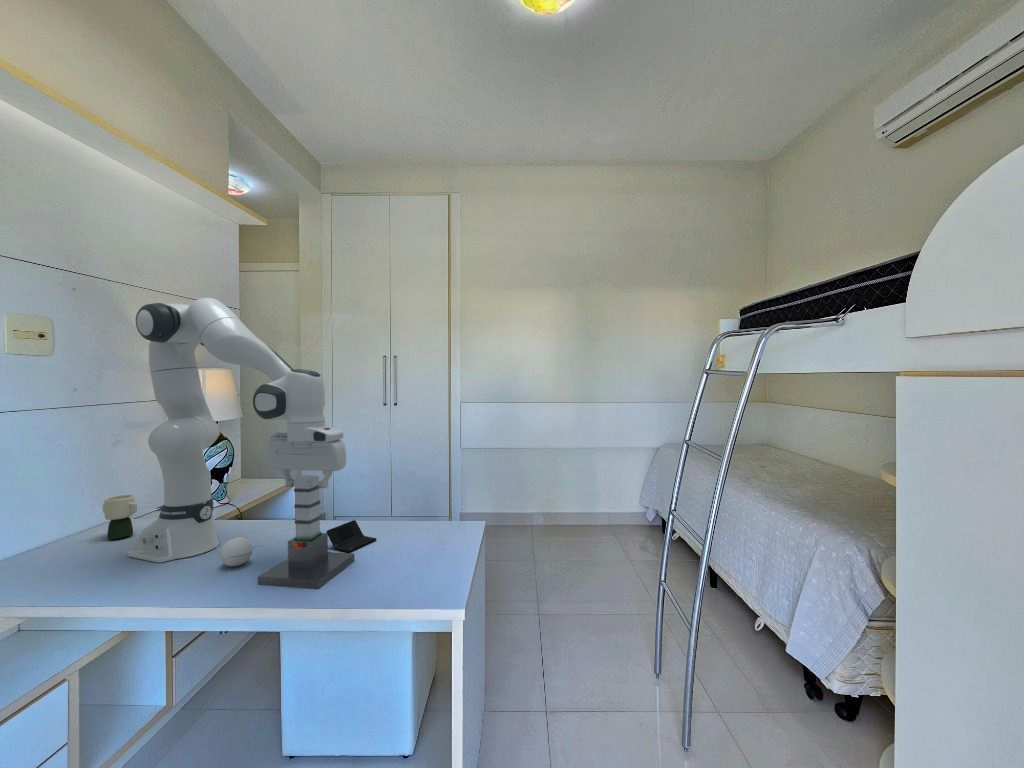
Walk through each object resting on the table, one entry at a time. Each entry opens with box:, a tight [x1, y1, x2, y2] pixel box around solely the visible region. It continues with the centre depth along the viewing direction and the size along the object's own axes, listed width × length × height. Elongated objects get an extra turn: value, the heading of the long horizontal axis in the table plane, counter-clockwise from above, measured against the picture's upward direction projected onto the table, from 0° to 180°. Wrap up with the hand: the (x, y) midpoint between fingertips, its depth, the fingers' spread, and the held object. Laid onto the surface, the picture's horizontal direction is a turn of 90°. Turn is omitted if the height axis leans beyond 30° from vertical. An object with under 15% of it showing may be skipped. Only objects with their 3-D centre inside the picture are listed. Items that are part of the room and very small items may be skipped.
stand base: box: [257, 532, 355, 590], centre depth 111 cm, size 16×16×9 cm
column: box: [293, 475, 322, 541], centre depth 111 cm, size 4×4×16 cm
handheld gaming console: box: [325, 519, 377, 553], centre depth 129 cm, size 12×7×10 cm
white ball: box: [219, 536, 265, 567], centre depth 116 cm, size 10×7×7 cm
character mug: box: [102, 494, 138, 540], centre depth 139 cm, size 11×7×13 cm, turn 88°
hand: (306, 487), depth 111 cm, fingers open, 8 cm apart
